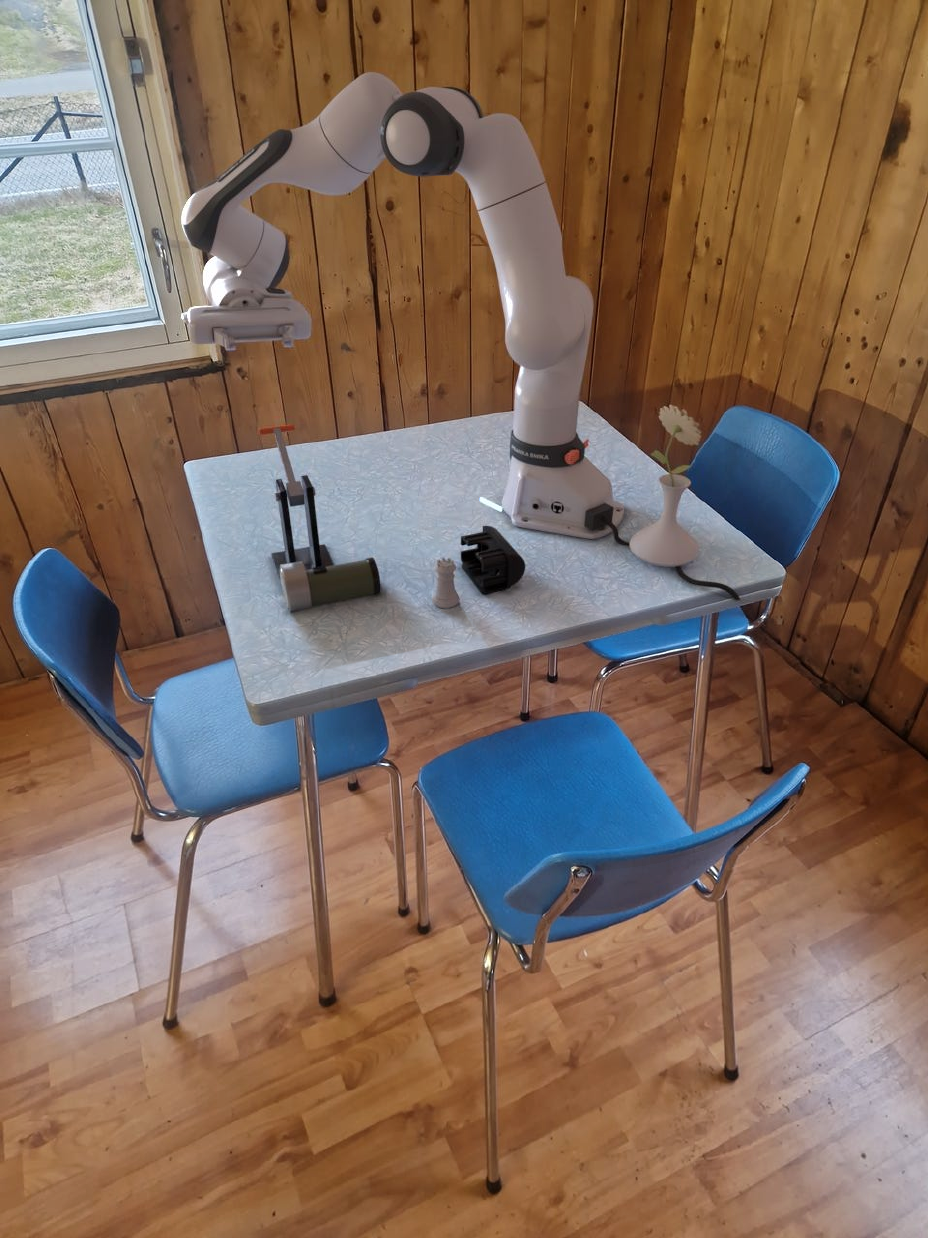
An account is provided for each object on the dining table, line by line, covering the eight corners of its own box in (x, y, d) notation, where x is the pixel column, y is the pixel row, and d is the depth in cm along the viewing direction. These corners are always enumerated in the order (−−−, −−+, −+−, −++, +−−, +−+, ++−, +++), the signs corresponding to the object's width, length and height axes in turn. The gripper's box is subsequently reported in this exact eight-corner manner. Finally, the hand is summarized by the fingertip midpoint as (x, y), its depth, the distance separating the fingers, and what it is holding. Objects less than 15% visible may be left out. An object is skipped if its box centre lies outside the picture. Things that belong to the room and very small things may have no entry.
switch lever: (259, 435, 134) (258, 424, 132) (293, 430, 136) (293, 419, 134) (279, 508, 127) (278, 498, 125) (315, 502, 128) (315, 492, 126)
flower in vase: (710, 567, 137) (739, 423, 122) (647, 578, 134) (670, 431, 119) (672, 530, 147) (695, 392, 132) (612, 539, 144) (630, 399, 130)
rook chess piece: (430, 599, 129) (429, 554, 124) (459, 597, 129) (459, 553, 125) (431, 615, 125) (430, 570, 121) (461, 614, 126) (461, 569, 121)
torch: (291, 621, 124) (285, 580, 120) (282, 596, 129) (276, 556, 125) (382, 603, 128) (380, 563, 124) (370, 579, 133) (368, 540, 129)
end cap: (524, 587, 131) (526, 551, 128) (483, 597, 129) (484, 560, 125) (498, 557, 139) (500, 521, 135) (459, 565, 137) (459, 529, 133)
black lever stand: (271, 559, 138) (258, 472, 129) (325, 550, 141) (315, 464, 132) (283, 594, 130) (269, 503, 121) (339, 583, 132) (330, 494, 123)
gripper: (177, 293, 138) (192, 328, 129) (298, 289, 145) (321, 322, 136) (181, 330, 142) (196, 366, 133) (298, 324, 150) (320, 358, 141)
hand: (260, 344), depth 135 cm, fingers open, 8 cm apart
